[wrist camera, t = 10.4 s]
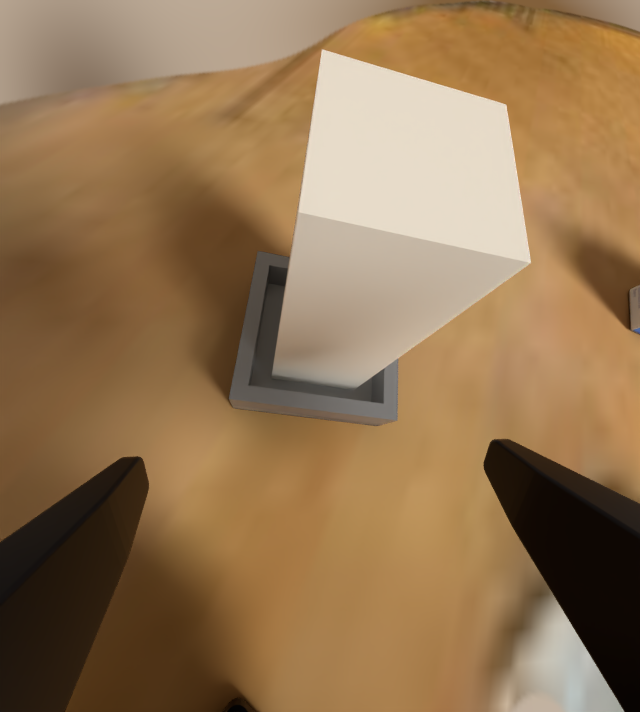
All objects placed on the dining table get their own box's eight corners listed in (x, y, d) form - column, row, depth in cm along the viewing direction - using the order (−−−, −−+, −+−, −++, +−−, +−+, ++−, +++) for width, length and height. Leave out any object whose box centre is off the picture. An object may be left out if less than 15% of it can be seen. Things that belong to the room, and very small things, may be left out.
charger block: (354, 389, 19) (530, 262, 7) (271, 378, 18) (298, 211, 6) (358, 315, 20) (506, 104, 8) (282, 302, 20) (322, 49, 7)
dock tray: (377, 425, 19) (397, 420, 17) (233, 408, 18) (228, 398, 15) (381, 301, 22) (399, 278, 19) (257, 278, 21) (257, 250, 18)
